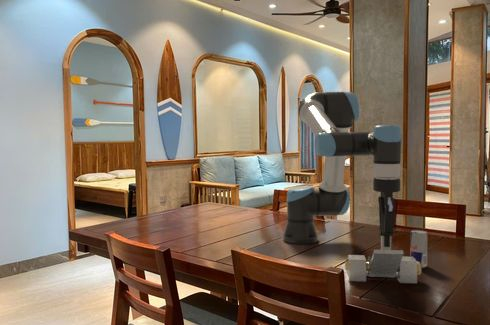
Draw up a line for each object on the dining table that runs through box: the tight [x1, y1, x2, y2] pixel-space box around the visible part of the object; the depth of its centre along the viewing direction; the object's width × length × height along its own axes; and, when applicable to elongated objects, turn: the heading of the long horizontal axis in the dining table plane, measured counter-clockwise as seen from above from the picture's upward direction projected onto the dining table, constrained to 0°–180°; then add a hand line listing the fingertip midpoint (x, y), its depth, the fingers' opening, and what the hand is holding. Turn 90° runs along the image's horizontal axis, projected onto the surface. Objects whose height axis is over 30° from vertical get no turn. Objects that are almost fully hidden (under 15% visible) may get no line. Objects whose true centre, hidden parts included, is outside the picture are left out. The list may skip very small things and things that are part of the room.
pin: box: [344, 260, 422, 275], centre depth 127 cm, size 22×4×4 cm, turn 81°
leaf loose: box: [366, 249, 405, 278], centre depth 123 cm, size 8×16×5 cm
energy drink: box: [409, 229, 428, 269], centre depth 140 cm, size 5×5×12 cm
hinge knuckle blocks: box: [346, 254, 418, 284], centre depth 130 cm, size 20×12×7 cm, turn 81°
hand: (385, 256), depth 120 cm, fingers closed
